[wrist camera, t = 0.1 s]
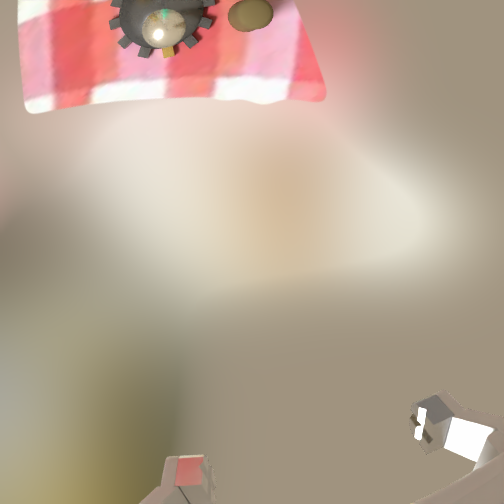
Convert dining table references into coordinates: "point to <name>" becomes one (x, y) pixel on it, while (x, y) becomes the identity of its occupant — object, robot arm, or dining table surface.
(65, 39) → the dining table surface
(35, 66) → the dining table surface
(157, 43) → the sprocket plate
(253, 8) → the cork
